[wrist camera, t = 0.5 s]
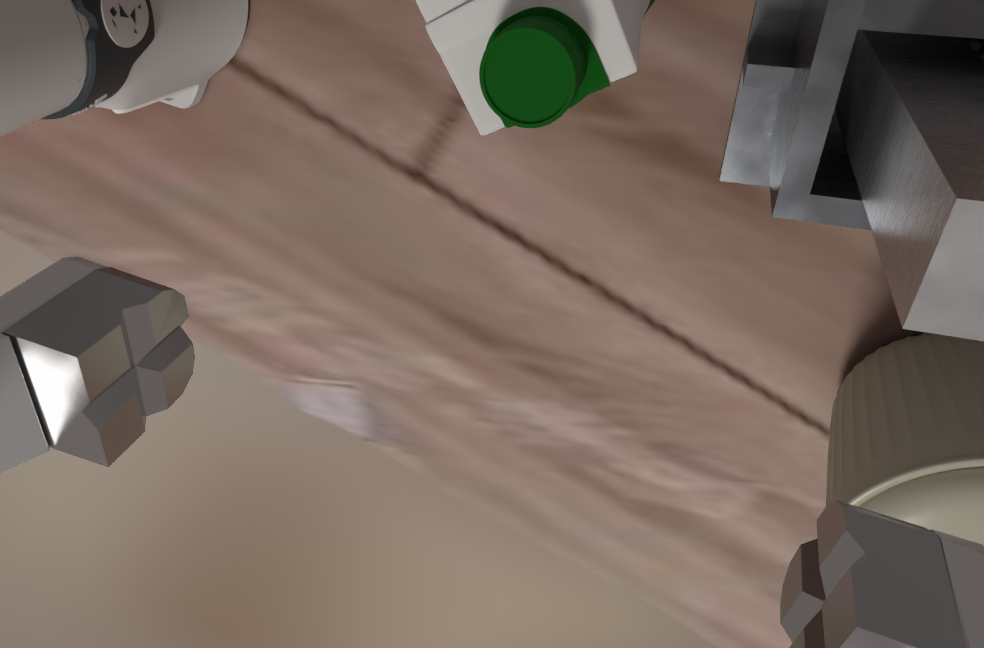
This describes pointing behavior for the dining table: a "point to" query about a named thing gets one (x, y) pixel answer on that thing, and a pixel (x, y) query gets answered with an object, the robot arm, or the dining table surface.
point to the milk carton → (533, 53)
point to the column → (921, 171)
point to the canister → (913, 435)
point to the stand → (816, 97)
